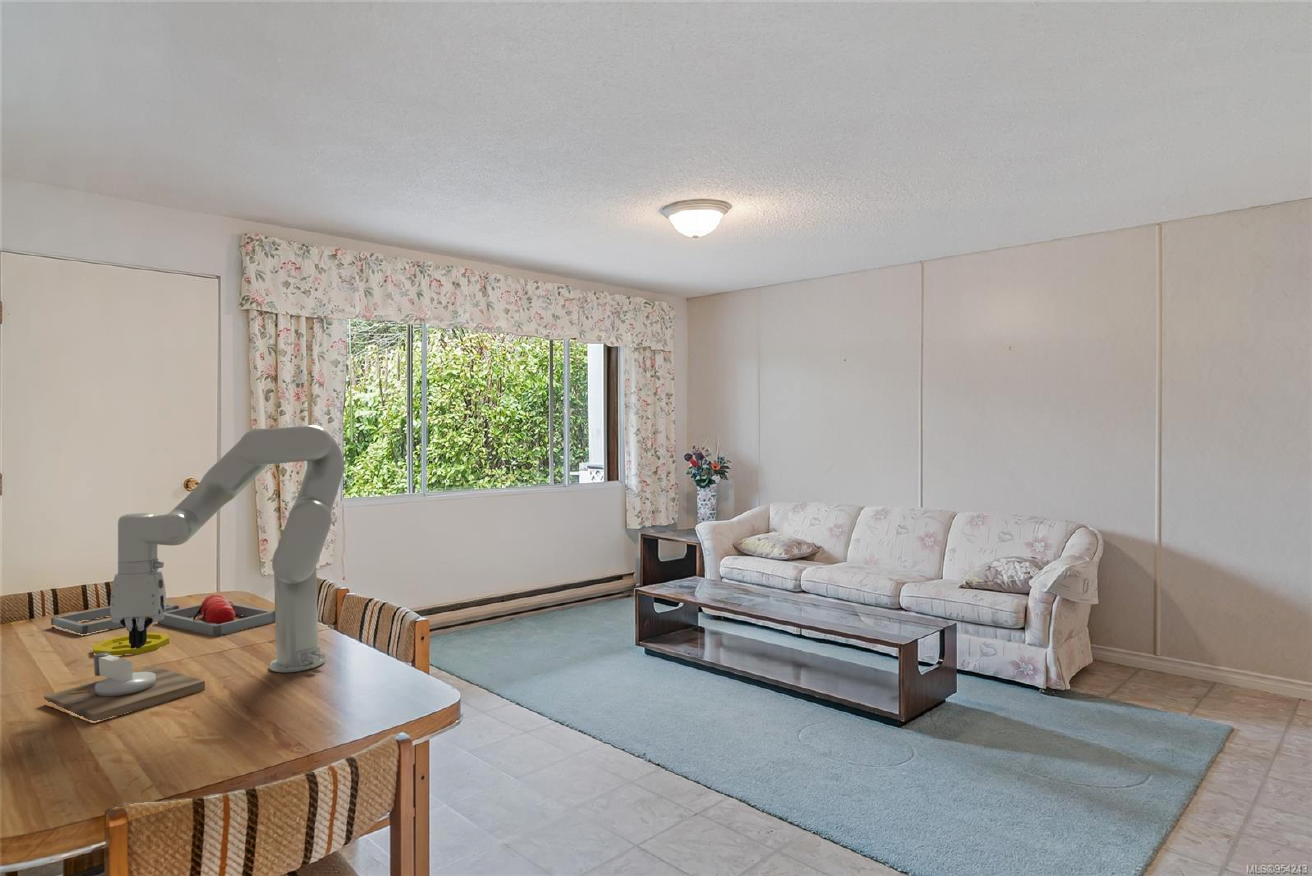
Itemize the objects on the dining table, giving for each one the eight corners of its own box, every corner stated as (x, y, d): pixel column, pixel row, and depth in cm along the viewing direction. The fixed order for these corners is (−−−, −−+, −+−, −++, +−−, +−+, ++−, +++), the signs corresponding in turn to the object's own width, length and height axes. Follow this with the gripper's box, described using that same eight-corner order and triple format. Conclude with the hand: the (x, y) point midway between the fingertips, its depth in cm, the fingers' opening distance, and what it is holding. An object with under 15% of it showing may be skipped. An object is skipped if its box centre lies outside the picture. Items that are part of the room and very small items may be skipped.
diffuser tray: (179, 615, 239) (178, 605, 239) (82, 636, 216) (81, 626, 216) (147, 608, 249) (146, 599, 249) (51, 627, 226) (51, 618, 226)
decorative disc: (103, 644, 209) (103, 637, 209) (176, 636, 215) (176, 630, 215) (81, 662, 193) (81, 654, 193) (161, 653, 200) (161, 646, 200)
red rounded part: (188, 613, 214) (183, 597, 235) (195, 640, 215) (189, 622, 236) (235, 600, 221) (227, 586, 242) (241, 626, 222) (232, 609, 243)
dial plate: (204, 689, 170) (204, 680, 170) (93, 724, 151) (93, 713, 151) (154, 674, 182) (153, 665, 181) (44, 705, 162) (43, 694, 162)
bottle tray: (277, 621, 229) (277, 611, 229) (216, 636, 213) (216, 626, 213) (218, 609, 245) (218, 600, 245) (157, 623, 229) (157, 613, 229)
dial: (165, 683, 168) (165, 658, 168) (110, 699, 159) (109, 672, 159) (126, 671, 177) (125, 647, 177) (71, 686, 168) (70, 660, 168)
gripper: (180, 563, 178) (180, 641, 178) (110, 565, 175) (110, 643, 175) (165, 569, 170) (165, 650, 170) (92, 571, 168) (92, 653, 168)
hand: (137, 646), depth 173 cm, fingers closed
